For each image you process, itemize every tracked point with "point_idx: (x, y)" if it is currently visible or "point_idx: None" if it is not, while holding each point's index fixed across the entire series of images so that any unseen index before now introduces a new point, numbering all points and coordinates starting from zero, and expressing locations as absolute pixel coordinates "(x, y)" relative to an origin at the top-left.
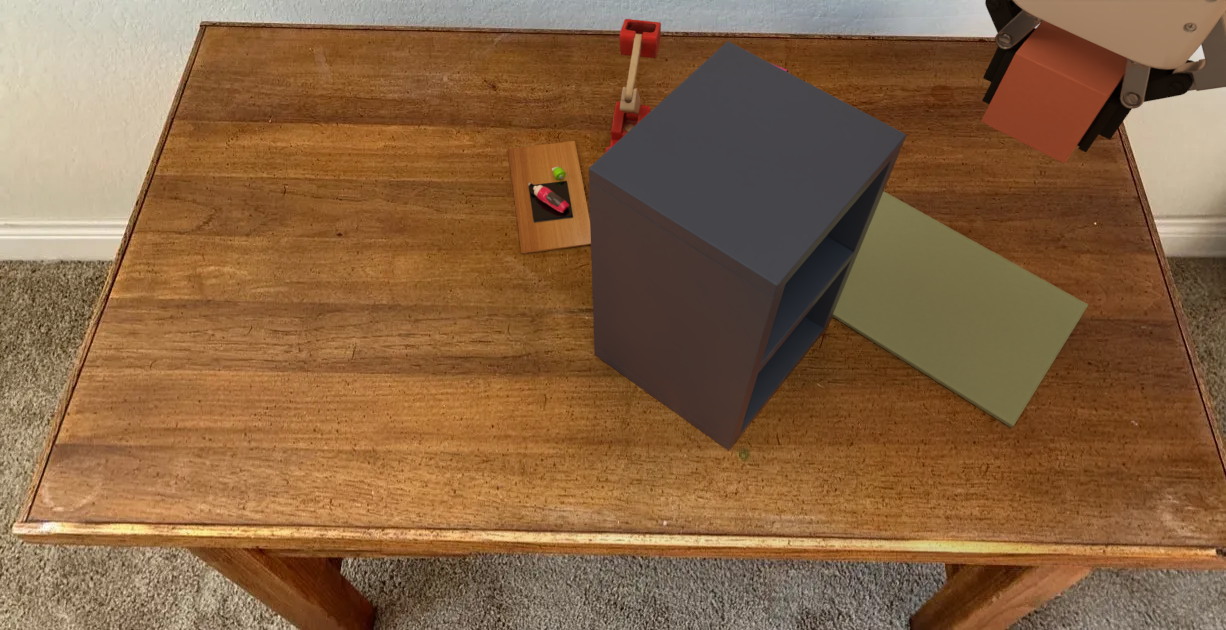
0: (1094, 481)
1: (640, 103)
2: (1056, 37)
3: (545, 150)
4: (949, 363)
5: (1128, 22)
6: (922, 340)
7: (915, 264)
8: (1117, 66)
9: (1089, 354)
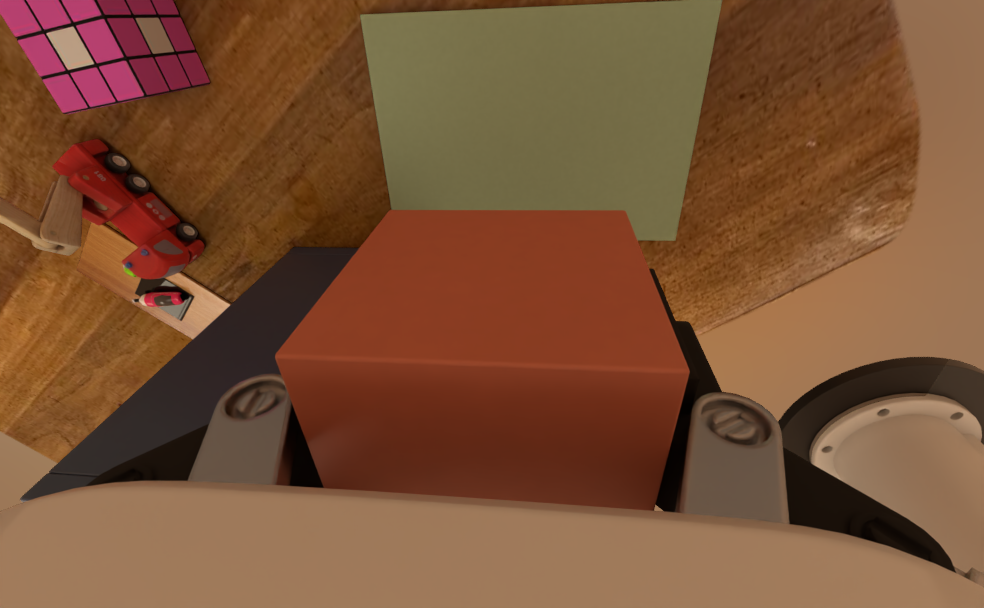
0: (772, 240)
1: (65, 181)
2: (394, 491)
3: (94, 248)
4: None
5: None
6: (547, 208)
7: (485, 111)
8: (619, 506)
9: (739, 81)
